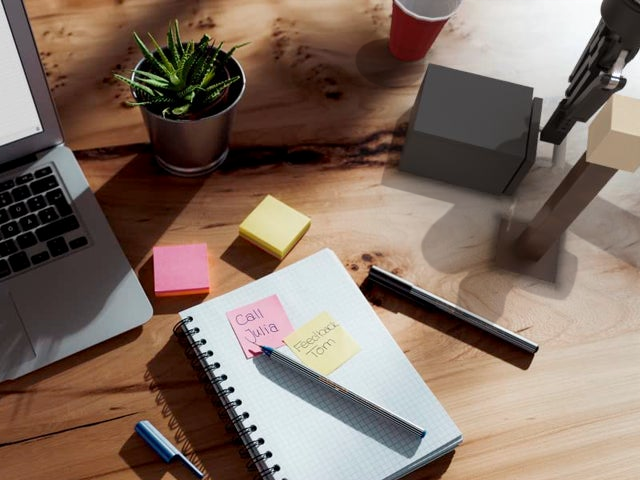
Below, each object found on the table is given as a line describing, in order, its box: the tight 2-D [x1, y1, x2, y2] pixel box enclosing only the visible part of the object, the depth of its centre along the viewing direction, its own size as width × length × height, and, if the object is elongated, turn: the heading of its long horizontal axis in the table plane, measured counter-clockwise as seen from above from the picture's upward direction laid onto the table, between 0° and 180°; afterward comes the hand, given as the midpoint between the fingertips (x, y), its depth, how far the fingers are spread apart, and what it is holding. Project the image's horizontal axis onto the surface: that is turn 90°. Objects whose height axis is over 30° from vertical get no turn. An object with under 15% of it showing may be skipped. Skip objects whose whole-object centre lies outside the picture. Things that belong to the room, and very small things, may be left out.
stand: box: [494, 149, 620, 284], centre depth 80 cm, size 8×8×22 cm
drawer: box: [503, 96, 568, 197], centre depth 92 cm, size 18×11×8 cm, turn 73°
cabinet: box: [397, 62, 535, 197], centre depth 93 cm, size 15×13×10 cm
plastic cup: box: [388, 0, 465, 63], centre depth 100 cm, size 11×11×12 cm
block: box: [586, 93, 640, 174], centre depth 68 cm, size 5×5×5 cm
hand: (549, 138), depth 89 cm, fingers closed
